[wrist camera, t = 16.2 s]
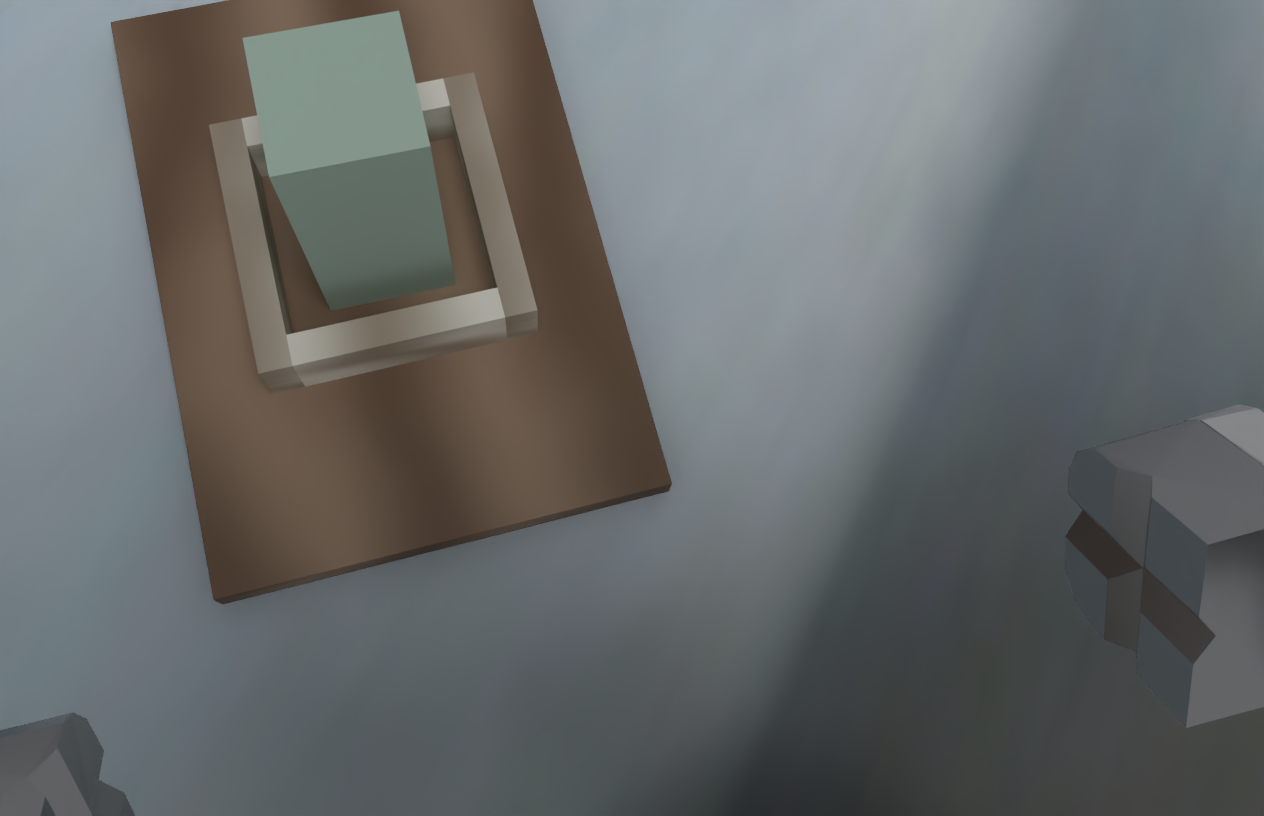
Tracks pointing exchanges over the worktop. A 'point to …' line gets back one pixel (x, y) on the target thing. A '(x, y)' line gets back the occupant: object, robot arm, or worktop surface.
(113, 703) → the worktop surface
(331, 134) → the green block
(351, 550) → the walnut board
